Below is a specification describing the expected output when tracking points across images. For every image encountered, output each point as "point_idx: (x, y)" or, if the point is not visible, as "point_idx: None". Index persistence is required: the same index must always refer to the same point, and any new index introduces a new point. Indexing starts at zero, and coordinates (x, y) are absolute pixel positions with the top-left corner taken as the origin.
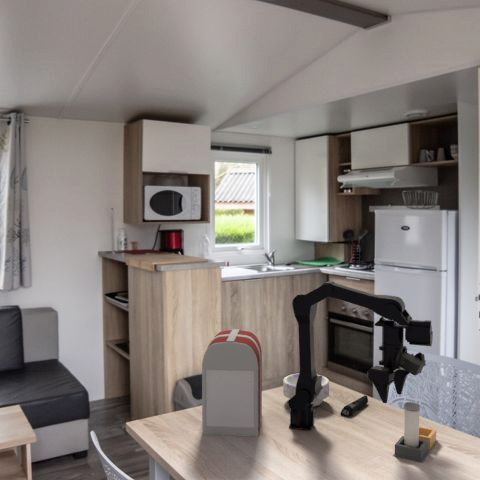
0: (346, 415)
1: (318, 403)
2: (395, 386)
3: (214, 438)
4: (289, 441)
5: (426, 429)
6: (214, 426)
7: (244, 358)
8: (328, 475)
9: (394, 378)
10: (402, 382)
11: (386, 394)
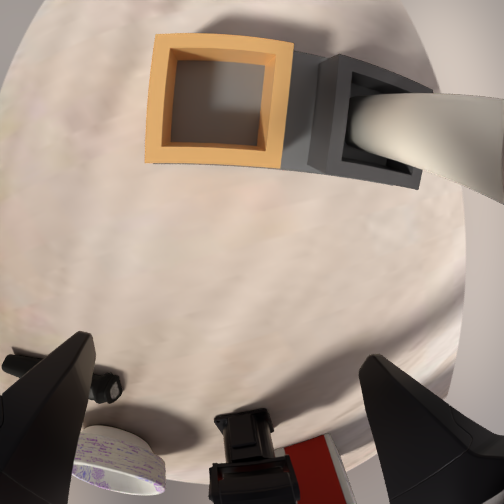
0: (118, 383)
1: (116, 432)
2: (83, 418)
3: (351, 445)
4: (338, 403)
5: (167, 78)
6: (341, 461)
7: None
8: (464, 290)
9: (63, 483)
10: (36, 425)
11: (437, 399)
